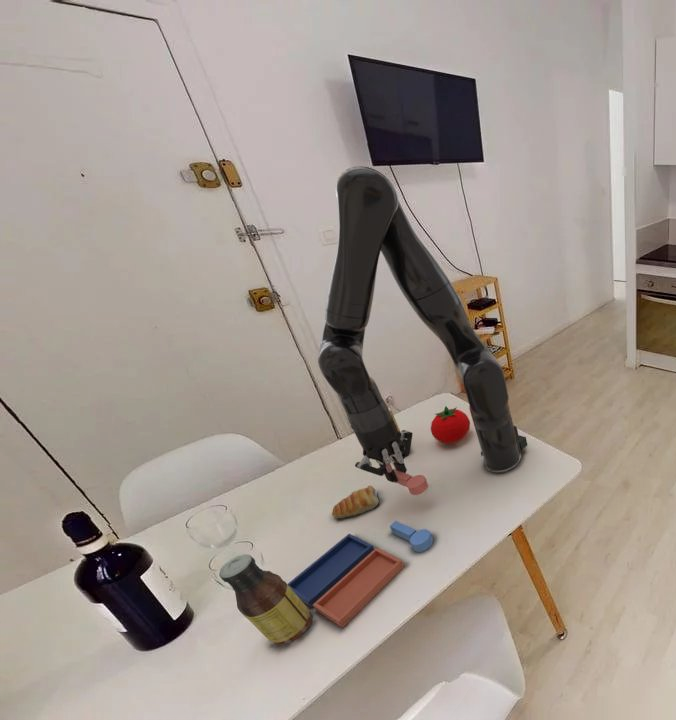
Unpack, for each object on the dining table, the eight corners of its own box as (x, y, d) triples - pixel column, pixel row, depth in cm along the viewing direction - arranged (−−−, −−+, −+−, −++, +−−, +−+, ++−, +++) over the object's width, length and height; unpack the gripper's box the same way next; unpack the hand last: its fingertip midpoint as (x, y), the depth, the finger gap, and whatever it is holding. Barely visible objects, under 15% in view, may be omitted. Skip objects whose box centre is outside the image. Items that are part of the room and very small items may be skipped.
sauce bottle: (286, 613, 77) (232, 545, 67) (321, 609, 78) (272, 542, 68) (261, 651, 72) (198, 584, 62) (299, 647, 72) (241, 580, 62)
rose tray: (379, 553, 88) (376, 547, 87) (404, 566, 85) (401, 560, 84) (316, 611, 77) (312, 605, 76) (342, 628, 75) (338, 622, 74)
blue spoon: (388, 537, 91) (384, 530, 90) (403, 524, 94) (400, 516, 93) (422, 554, 87) (418, 546, 86) (437, 539, 90) (433, 531, 89)
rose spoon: (386, 484, 97) (382, 476, 96) (401, 472, 100) (397, 465, 99) (418, 497, 93) (414, 489, 92) (432, 484, 96) (428, 476, 95)
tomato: (436, 454, 115) (426, 426, 110) (435, 433, 123) (425, 406, 118) (475, 443, 118) (466, 416, 113) (471, 423, 127) (463, 397, 122)
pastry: (336, 526, 94) (329, 515, 92) (333, 508, 99) (326, 497, 97) (381, 505, 99) (375, 494, 97) (376, 489, 104) (371, 478, 102)
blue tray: (352, 539, 91) (349, 533, 90) (375, 551, 88) (372, 545, 87) (288, 592, 81) (283, 586, 80) (312, 608, 78) (307, 602, 77)
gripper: (352, 444, 82) (383, 503, 91) (410, 406, 93) (432, 462, 102) (329, 435, 85) (361, 493, 94) (388, 399, 96) (411, 455, 104)
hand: (398, 477), depth 98 cm, fingers closed on rose spoon, 1 cm apart
